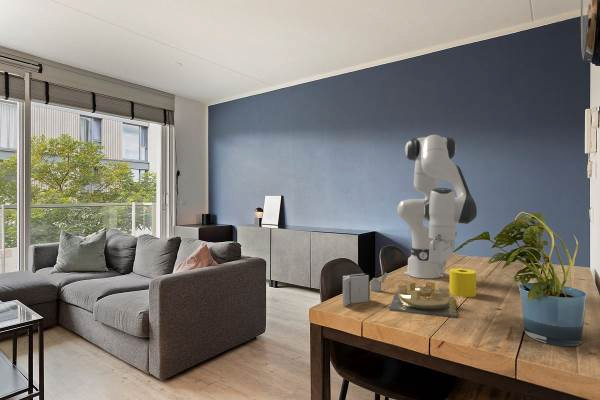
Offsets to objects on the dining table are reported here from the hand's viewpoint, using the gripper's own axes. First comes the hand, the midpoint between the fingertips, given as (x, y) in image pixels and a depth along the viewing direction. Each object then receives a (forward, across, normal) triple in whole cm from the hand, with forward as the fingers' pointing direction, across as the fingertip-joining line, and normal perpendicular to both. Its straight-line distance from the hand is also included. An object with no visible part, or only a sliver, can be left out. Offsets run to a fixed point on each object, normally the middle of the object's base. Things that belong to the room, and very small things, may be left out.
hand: (441, 271), depth 124 cm
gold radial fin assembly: (+12, +1, +7) cm, 14 cm away
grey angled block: (+14, +9, +28) cm, 32 cm away
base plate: (+14, +1, +7) cm, 15 cm away
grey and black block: (+14, -11, +29) cm, 34 cm away
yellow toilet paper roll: (+14, +26, -2) cm, 29 cm away
